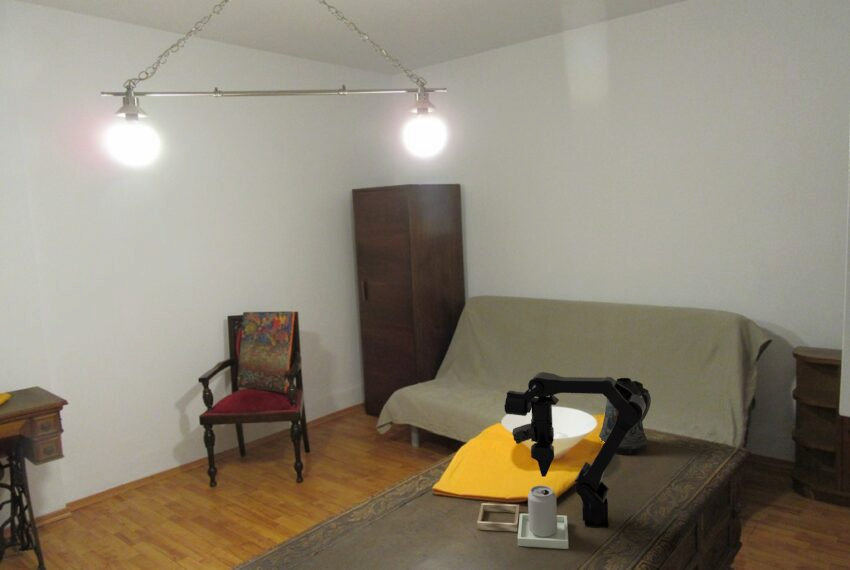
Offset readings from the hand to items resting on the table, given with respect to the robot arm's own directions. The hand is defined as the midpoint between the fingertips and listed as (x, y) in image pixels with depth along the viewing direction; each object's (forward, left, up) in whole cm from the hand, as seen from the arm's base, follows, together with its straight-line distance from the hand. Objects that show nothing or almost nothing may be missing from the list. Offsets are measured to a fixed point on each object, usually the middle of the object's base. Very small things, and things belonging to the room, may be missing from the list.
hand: (543, 469), depth 170 cm
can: (+1, +12, -13) cm, 17 cm away
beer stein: (-28, -51, -13) cm, 60 cm away
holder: (+13, +6, -13) cm, 19 cm away
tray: (+1, +12, -13) cm, 18 cm away
